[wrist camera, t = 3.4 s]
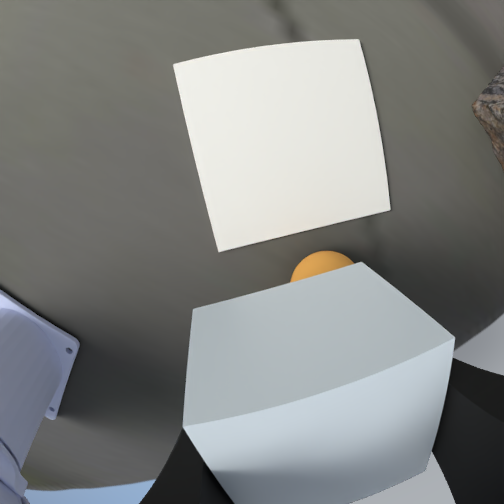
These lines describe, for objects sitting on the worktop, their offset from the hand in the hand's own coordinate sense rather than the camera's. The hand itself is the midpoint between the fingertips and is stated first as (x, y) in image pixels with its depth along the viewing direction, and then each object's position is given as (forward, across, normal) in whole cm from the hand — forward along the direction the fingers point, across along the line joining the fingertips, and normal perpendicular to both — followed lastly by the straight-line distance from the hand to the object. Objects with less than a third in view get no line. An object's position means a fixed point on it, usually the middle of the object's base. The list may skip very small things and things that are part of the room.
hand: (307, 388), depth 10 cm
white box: (+2, 0, 0) cm, 2 cm away
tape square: (+8, -3, -8) cm, 12 cm away
